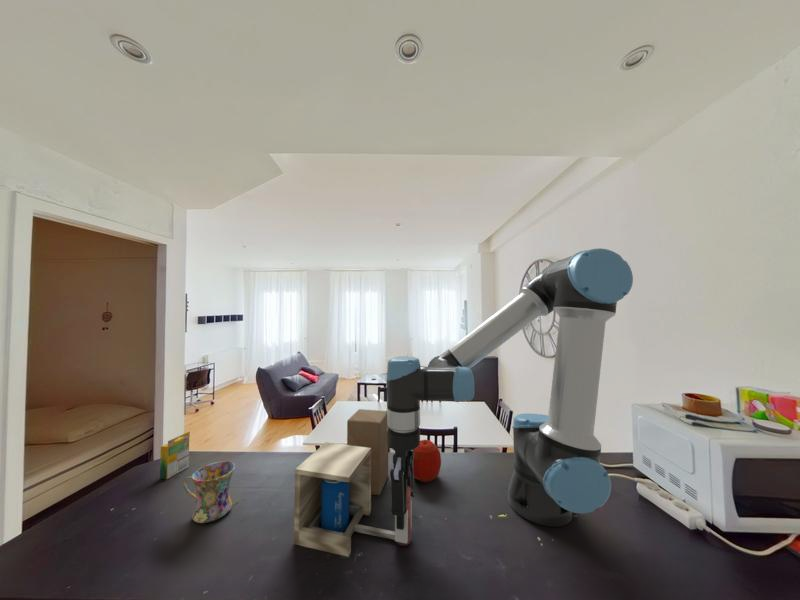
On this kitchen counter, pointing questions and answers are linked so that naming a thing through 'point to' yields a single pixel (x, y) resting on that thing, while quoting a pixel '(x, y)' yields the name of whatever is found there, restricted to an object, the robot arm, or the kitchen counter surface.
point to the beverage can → (334, 505)
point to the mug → (211, 491)
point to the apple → (426, 461)
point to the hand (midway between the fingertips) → (403, 533)
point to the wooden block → (371, 442)
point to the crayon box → (174, 456)
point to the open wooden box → (308, 488)
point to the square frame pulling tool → (355, 527)
